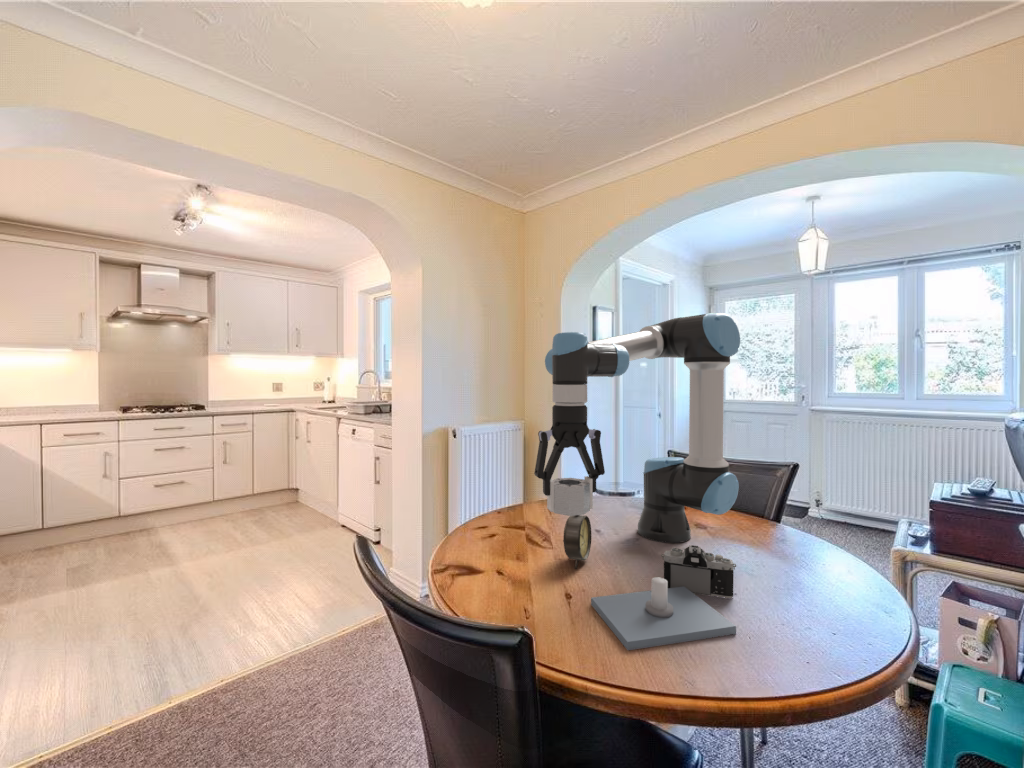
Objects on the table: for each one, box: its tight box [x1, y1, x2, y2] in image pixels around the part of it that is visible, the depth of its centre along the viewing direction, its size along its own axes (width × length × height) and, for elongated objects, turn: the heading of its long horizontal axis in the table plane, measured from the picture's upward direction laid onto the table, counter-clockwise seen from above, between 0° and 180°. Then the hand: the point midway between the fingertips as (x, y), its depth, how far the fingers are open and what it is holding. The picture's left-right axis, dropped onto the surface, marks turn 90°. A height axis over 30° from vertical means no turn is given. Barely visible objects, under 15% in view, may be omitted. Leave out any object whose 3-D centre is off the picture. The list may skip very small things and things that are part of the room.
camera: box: [661, 544, 737, 599], centre depth 101 cm, size 16×9×10 cm, turn 69°
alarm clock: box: [562, 514, 592, 570], centre depth 115 cm, size 11×5×16 cm, turn 155°
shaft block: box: [590, 576, 737, 651], centre depth 88 cm, size 22×16×8 cm
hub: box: [552, 477, 591, 517], centre depth 97 cm, size 8×8×6 cm
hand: (569, 508), depth 97 cm, fingers closed on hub, 8 cm apart
